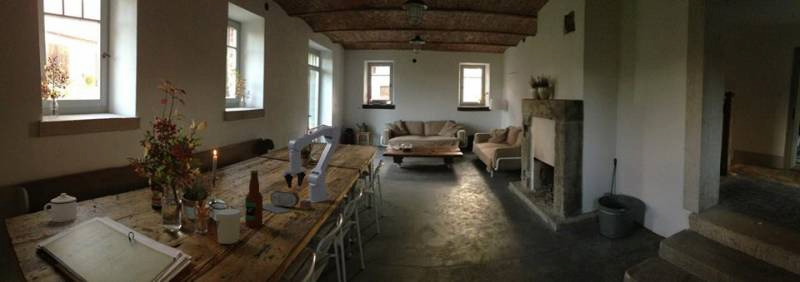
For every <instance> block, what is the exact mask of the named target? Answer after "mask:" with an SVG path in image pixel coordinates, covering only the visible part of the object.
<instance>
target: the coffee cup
mask: <svg viewBox="0 0 800 282" xmlns="http://www.w3.org/2000/svg"><path fill="white" fill-rule="evenodd" d="M241 214H242V212H241V210H239V209H237V208H224V209H219V210H217V211H216V213H215V216H216V217H215V219H216V220H215V221H216V230H217V231H216V232H217V233H216V234H217V242H218V243H219V244H223V245H224V244H225V245H226V244H227V245H229V244H234V243H237V242H238V241H239V240H240V228H241V227H240V226H241Z"/></svg>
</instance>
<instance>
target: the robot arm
mask: <svg viewBox="0 0 800 282" xmlns="http://www.w3.org/2000/svg"><path fill="white" fill-rule="evenodd" d="M340 136H341V130H340V128H339V126H332V125H322V126H321V127H320V128H318V129H317V130H315V131H313V132H312V133H310V134H309V133H303V134H302V135H301V136H299V137H296V139H290V140H289V142H288V143H287V149H288V151H289V170H288V169H287V170H282V176H283V177H284V180H285V181H286V184H287V188H288V189H292V187H293V185H292V184H293V178H294V176H293V175H296V178H297V187H302V185H303V181H304V180H305V177H306V181H307V183H308V188H309V189H308V192H309V194H308V198H306V199H305V200H309V201H311V203H313V204H316V203H320V202H325V201H328V199H327V186H326V185H325V183H326V178H327V176H328V175H327V172H326V170H327V167H328V165H329V163H330V161H331V159H332V156H333V154H334V153H335V150H336V148H337V146H338V144H339V138H340ZM320 137H323V138H324V140H325V141H326V145H325V148H324V150H323V151H322V153H321V156H320V158H319V160H318V162H317V164H316V166H315V167H314V168H312V169H310V172H309V173H308V174H307V172H308V169H307V168H302V165H301V164H302V163H301V160H302V158H301V157H302V156H301V155H302V150H303V149H304V148H305V147H307V146H308V145H310V144H312V143H313V141H314V140H316V139H318V138H320ZM306 175H307V176H306Z"/></svg>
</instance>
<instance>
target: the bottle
mask: <svg viewBox="0 0 800 282" xmlns="http://www.w3.org/2000/svg"><path fill="white" fill-rule="evenodd" d="M258 176H259V170H256V169H255V170H250V180H249V185H248V193H247V195H246V196H245V198H244V200H245V204H244V205H245V209H244V210H245V211H244V212H245V215H244V217H245V224H244V225H245V226H246V227H249V228H258V227H261V225H262V224H263V210H264V209H263V205H264V204H263V202H264V201H263V198H264V197H263V195H262V193H261V192H260V182H259V177H258Z"/></svg>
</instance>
